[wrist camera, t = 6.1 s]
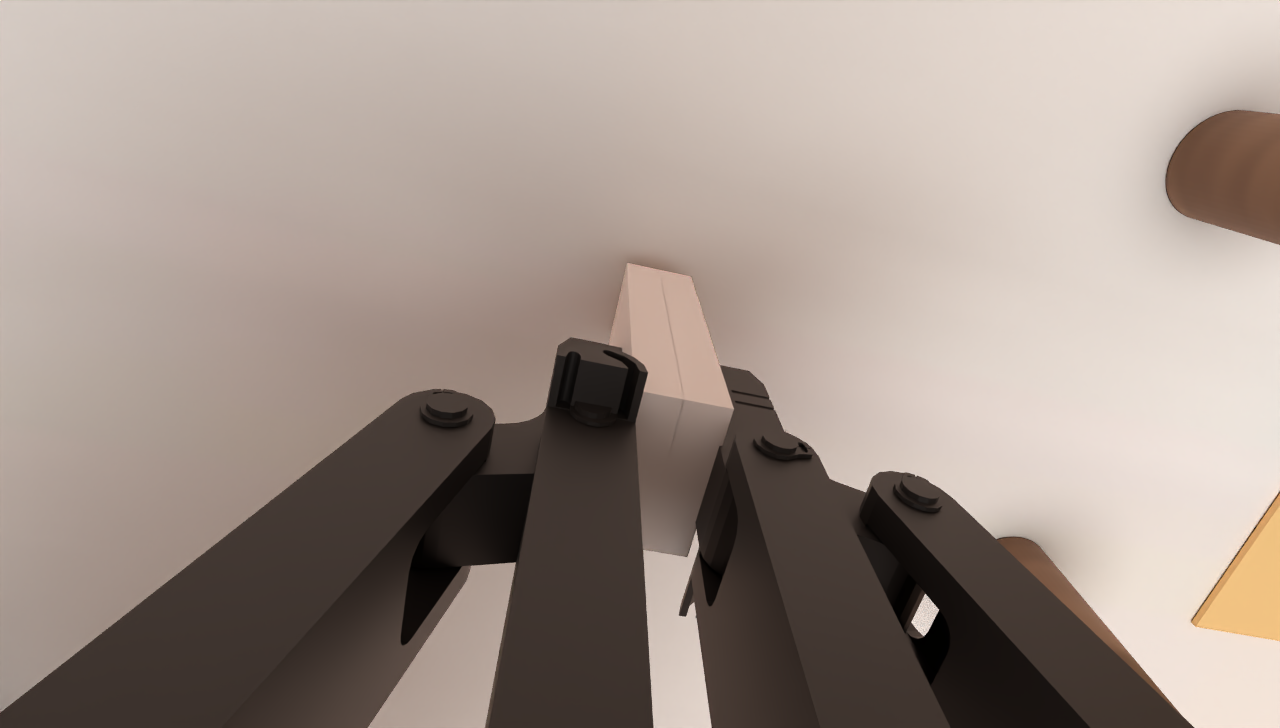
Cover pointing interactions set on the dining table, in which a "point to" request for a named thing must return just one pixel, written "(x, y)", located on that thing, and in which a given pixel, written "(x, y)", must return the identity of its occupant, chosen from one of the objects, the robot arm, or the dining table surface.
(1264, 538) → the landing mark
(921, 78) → the dining table surface
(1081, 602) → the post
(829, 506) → the robot arm
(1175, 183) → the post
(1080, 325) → the dining table surface
